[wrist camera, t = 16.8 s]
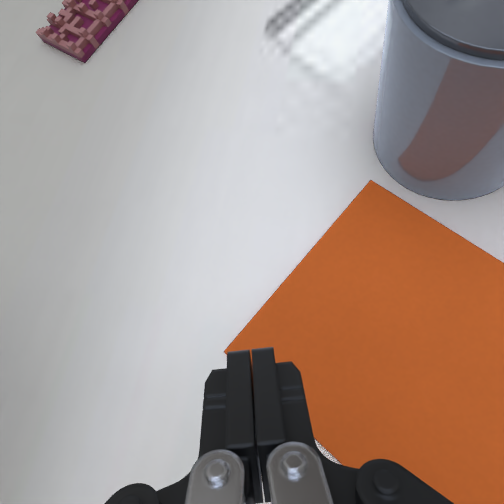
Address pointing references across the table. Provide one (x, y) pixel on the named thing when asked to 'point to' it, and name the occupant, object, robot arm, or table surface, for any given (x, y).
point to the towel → (397, 346)
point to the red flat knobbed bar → (83, 25)
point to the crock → (442, 97)
